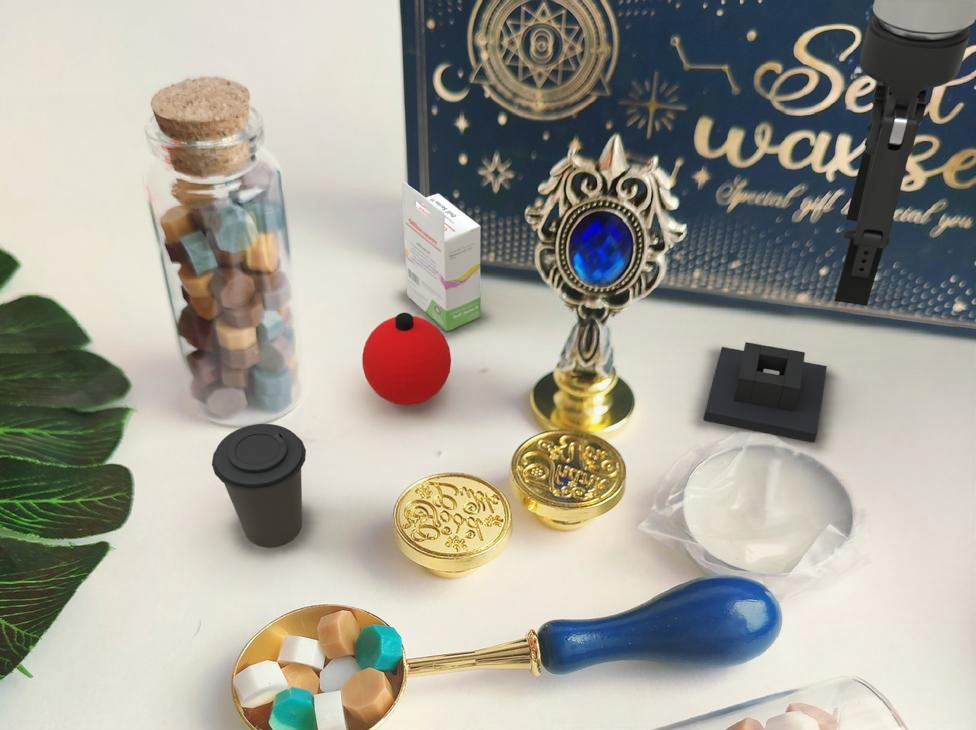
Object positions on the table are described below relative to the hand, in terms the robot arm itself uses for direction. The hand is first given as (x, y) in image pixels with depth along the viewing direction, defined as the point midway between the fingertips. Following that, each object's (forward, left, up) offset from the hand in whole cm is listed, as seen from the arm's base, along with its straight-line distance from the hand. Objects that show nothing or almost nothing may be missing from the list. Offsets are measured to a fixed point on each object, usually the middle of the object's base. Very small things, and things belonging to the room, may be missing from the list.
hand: (856, 259), depth 98 cm
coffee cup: (+55, -10, -18) cm, 59 cm away
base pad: (+4, -3, -17) cm, 18 cm away
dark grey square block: (+4, -3, -16) cm, 17 cm away
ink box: (+26, -33, -18) cm, 45 cm away
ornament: (+36, -21, -18) cm, 45 cm away
